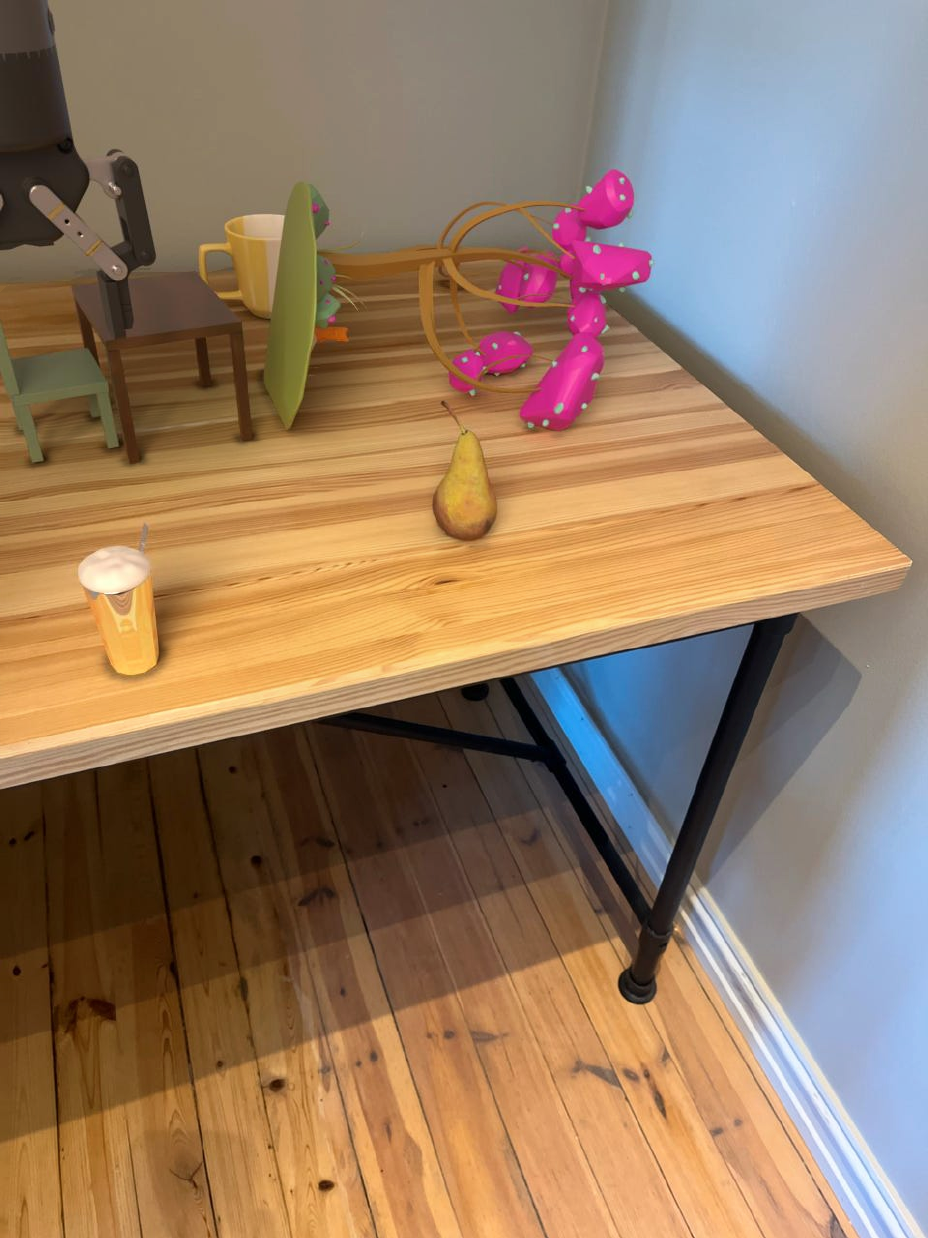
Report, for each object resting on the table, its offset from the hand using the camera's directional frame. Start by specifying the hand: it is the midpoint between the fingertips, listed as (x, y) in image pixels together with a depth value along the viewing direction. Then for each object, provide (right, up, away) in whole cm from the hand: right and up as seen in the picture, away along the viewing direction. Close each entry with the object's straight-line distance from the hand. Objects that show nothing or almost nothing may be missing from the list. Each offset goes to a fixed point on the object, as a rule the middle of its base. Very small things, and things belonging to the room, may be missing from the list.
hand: (45, 345), depth 56 cm
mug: (0, +22, +60) cm, 64 cm away
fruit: (+26, -9, +24) cm, 36 cm away
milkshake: (+2, -20, +10) cm, 22 cm away
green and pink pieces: (+23, +7, +44) cm, 51 cm away
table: (-4, +3, +37) cm, 37 cm away
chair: (-13, +1, +32) cm, 35 cm away
